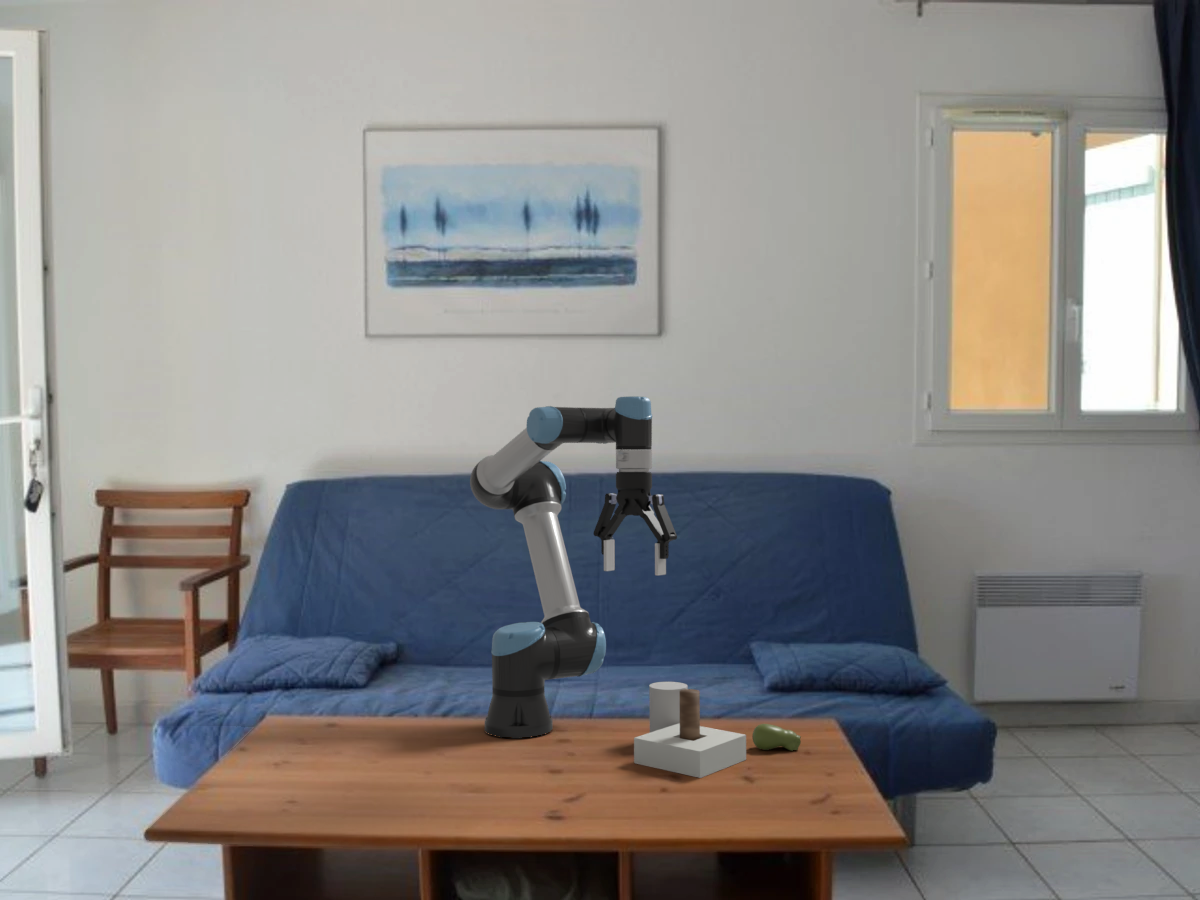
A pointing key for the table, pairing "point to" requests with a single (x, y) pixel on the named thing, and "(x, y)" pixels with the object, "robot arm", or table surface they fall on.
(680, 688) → the grey cylinder peg
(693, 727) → the walnut dowel
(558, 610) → the robot arm
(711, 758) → the socket block
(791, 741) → the pear
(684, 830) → the table surface
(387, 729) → the table surface
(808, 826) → the table surface
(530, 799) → the table surface
